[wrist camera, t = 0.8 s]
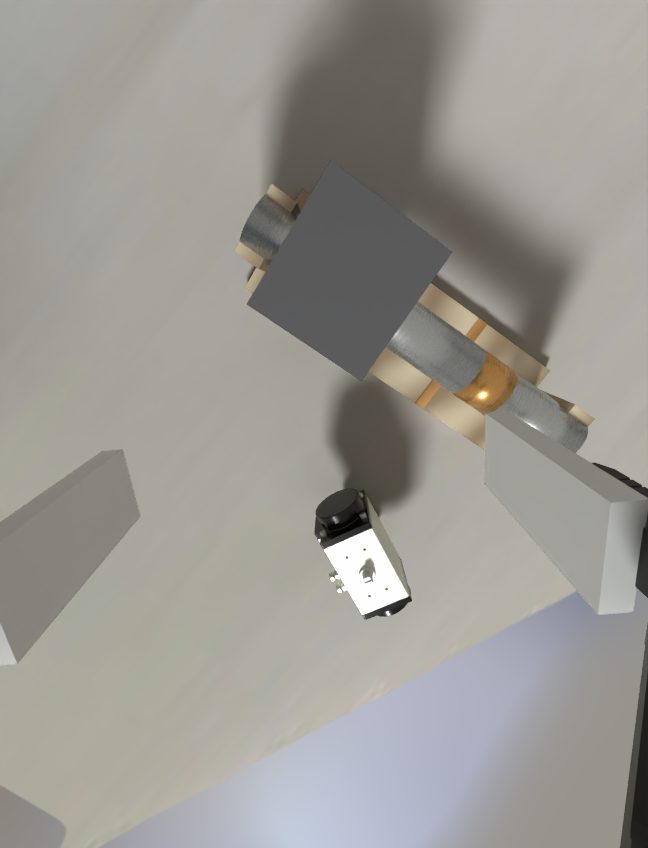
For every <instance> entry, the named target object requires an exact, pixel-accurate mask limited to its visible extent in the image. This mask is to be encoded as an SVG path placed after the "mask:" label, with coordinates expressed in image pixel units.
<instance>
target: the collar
mask: <svg viewBox="0 0 648 848" xmlns="http://www.w3.org/2000/svg"><path fill="white" fill-rule="evenodd" d="M451 253H452V251H450V250H449V249H448V248H446V247H445V246H444V245H442V244H441V243H440V242H439V241H437V240H436V239H435V238H433V237H432V236H431V235H429V234H428V233H427V232H425V231H424V230H423V229H421V228H420V227H419V226H417V225H416V224H415V223H413V222H412V221H411V220H409V219H408V218H407V217H405V216H404V215H403V214H401V213H400V212H399V211H398V210H396V209H395V208H394V207H392V206H391V205H390V204H388V203H387V202H386V201H384V200H383V199H382V198H380V197H379V196H378V195H376V194H375V193H374V192H372V191H371V190H370V189H368V188H367V187H366V186H364V185H363V184H362V183H360V182H359V181H358V180H357V179H355V178H354V177H353V176H351V175H350V174H349V173H347V172H346V171H345V170H343V169H342V168H341V167H339V166H338V165H337V164H335V163H334V162H333V161H330V162H329V164H328V166H327V168H326V169H325V171H324V173H323V174H322V176H321V178H320V179H319V181H318V183H317V185H316V186H315V188H314V190H313V191H312V193H311V195H310V197H309V198H308V200H307V202H306V203H305V205H304V207H303V209H302V210H301V212H300V214H299V215H298V217H297V219H296V221H295V222H294V224H293V226H292V227H291V229H290V231H289V233H288V234H287V236H286V238H285V239H284V241H283V243H282V245H281V246H280V248H279V250H278V251H277V253H276V255H275V257H274V258H273V260H272V262H271V263H270V265H269V267H268V269H267V270H266V272H265V274H264V275H263V277H262V279H261V280H260V282H259V284H258V286H257V287H256V289H255V291H254V292H253V294H252V296H251V298H250V299H249V301H248V303H247V305H249V306H250V307H252V308H253V309H255V310H256V311H258V312H259V313H261V314H262V315H264V316H265V317H267V318H268V319H270V320H271V321H273V322H274V323H275V324H277V325H278V326H280V327H281V328H283V329H284V330H286V331H287V332H289V333H290V334H292V335H293V336H295V337H296V338H298V339H299V340H301V341H302V342H304V343H305V344H307V345H308V346H310V347H311V348H313V349H314V350H316V351H317V352H319V353H320V354H322V355H323V356H325V357H326V358H328V359H329V360H331V361H332V362H334V363H335V364H337V365H338V366H340V367H341V368H343V369H344V370H346V371H347V372H349V373H350V374H352V375H353V376H355V377H356V378H358V379H359V380H361V381H362V380H363V379H364V377H365V376H366V375H367V373H368V372H369V370H370V369H371V367H372V366H373V365H374V363H375V362H376V360H377V359H378V357H379V356H380V355H381V353H382V352H383V350H384V349H385V347H386V346H387V345H388V343H389V342H390V340H391V339H392V337H393V336H394V335H395V333H396V332H397V330H398V329H399V328H400V326H401V325H402V323H403V322H404V320H405V319H406V318H407V316H408V315H409V313H410V312H411V310H412V309H413V308H414V306H415V305H416V303H417V302H418V300H419V299H420V298H421V296H422V295H423V293H424V292H425V290H426V289H427V288H428V286H429V285H430V283H431V282H432V280H433V279H434V278H435V276H436V275H437V273H438V272H439V270H440V269H441V268H442V266H443V265H444V263H445V262H446V261H447V259H448V258H449V256H450V255H451Z"/></svg>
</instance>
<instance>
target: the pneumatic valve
mask: <svg viewBox="0 0 648 848" xmlns="http://www.w3.org/2000/svg"><path fill="white" fill-rule="evenodd" d="M316 516H317V517H316V521H315V536H316V537H317V539H318V541H319V542H320V545H321V546H322V548H323V550H324V551H325V553H326V555H327V556H328V558H329V560H330V561H331V563H332V565H333V567H334V568H335V570H336V571H334V573H333V572H331V573H329V576H330V579H331V581H332V582H333V581H335V580H336V579H337V580H338V579H340V578H341V580H342V582H341V584H340V583H339V584H337V585H336V588H337V591H338V592H339V593H341V592H342V591H345V590H348V592H349V594H350V595H351V597H352V599H353V600H354V602H355V604H356V606H357V607H358V609H359V611H360V612H361V614H362V616H363V617H364V619H365V620H367V619H369V618H371V617H374V616H376V615H377V616H391V615H393V614H396V613H398V612H399V611H400V610H402V609H403V608H404V607H405V606H406V605H407V603H408V602H411V601H412V598H411V591H410V588H409V586H408V583H407V580H406V576H405V572H404V569H403V565H402V561H401V559H400V557H399V555H398V553H397V551H396V549H395V547H394V546H393V544H392V542H391V540H390V538H389V536H388V534H387V532H386V531H385V529H384V527H383V525H382V523H381V521H380V519H379V517H378V516H377V514H376V512H375V510H374V508H373V506H372V504H371V502H370V501H369V499H368V497H367V495H366V493H365V491H364V490H363V491H360V492H358V491H357V490H355V489H344V490H340V491H338V492H336V493H334V494H332V495H330V496H329V497H327V498H326V499H325V500H323V501H322V502H321V503H320V504H319V506H318V507H317V509H316Z"/></svg>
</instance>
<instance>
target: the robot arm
mask: <svg viewBox="0 0 648 848" xmlns="http://www.w3.org/2000/svg"><path fill="white" fill-rule="evenodd" d="M484 484H485V485H486V486H487V487H488V489H489V490H490V491H491V492H492V493H493V494H494V496H495V497H496V498H497V499H498V500H499V501H500V502H501V504H502V505H503V506H504V507H505V508H506V509H507V510H508V512H509V513H510V514H511V515H512V516H513V517H514V519H515V520H516V521H517V522H518V523H519V524H520V525H521V527H522V528H523V529H524V530H525V531H526V532H527V534H528V535H529V536H530V537H531V538H532V539H533V540H534V542H535V543H536V544H537V545H538V546H539V547H540V549H541V550H542V551H543V552H544V553H545V554H546V555H547V557H548V558H549V559H550V560H551V561H552V562H553V564H554V565H555V566H556V567H557V568H558V569H559V570H560V572H561V573H562V574H563V575H564V576H565V577H566V579H567V580H568V581H569V582H570V583H571V584H572V585H573V587H574V588H575V589H576V590H577V591H578V592H579V593H580V595H581V596H582V597H583V598H584V599H585V600H586V601H587V603H588V604H589V605H590V606H591V607H592V608H593V610H594V611H595V612H596V613H597V614H598V615H602V614H613V613H625V612H633V610H634V603H635V597H636V590H637V588H638V589H639V590H640V591H641V592H642V593H643V594H644V595H645V596H646V597H647V598H648V489H647V488H646V487H642V485H641V484H639V483H637V482H635V481H634V480H630V478H629V477H627V476H625V475H624V474H622V473H620V472H618V471H617V470H615V469H612V468H609V467H606V466H603V465H600V464H597V463H590V462H588V461H587V460H585V459H584V458H582V457H580V456H579V455H577V454H576V453H574V452H572V451H571V450H569V449H567V448H566V447H564V446H563V445H561V444H559V443H558V442H556V441H554V440H553V439H551V438H550V437H548V436H546V435H545V434H543V433H541V432H540V431H538V430H537V429H535V428H533V427H532V426H530V425H529V424H527V423H525V422H524V421H522V420H520V419H519V418H517V417H516V416H514V415H512V414H511V413H509V412H507V411H505V412H495V413H485V481H484ZM139 517H140V513H139V509H138V505H137V502H136V498H135V494H134V490H133V487H132V483H131V479H130V475H129V471H128V468H127V464H126V460H125V456H124V452H123V449H121V450H111V451H102V452H100V453H99V454H98V455H96V456H95V457H93V458H92V459H90V460H89V461H87V462H86V463H85V464H83V465H82V466H80V467H79V468H77V469H76V470H75V471H73V472H72V473H70V474H69V475H67V476H66V477H65V478H63V479H62V480H60V481H59V482H57V483H56V484H54V485H53V486H52V487H50V488H49V489H47V490H46V491H44V492H43V493H42V494H40V495H39V496H37V497H36V498H34V499H33V500H32V501H30V502H29V503H27V504H26V505H24V506H23V507H21V508H20V509H19V510H17V511H16V512H14V513H13V514H11V515H10V516H9V517H7V518H6V519H4V520H3V521H1V522H0V665H12V664H18V663H19V661H20V660H21V659H22V658H23V657H24V655H25V654H26V653H27V652H28V651H29V649H30V648H31V647H32V646H33V645H34V643H35V642H36V641H37V640H38V639H39V637H40V636H41V635H42V634H43V633H44V631H45V630H46V629H47V628H48V627H49V625H50V624H51V623H52V622H53V621H54V619H55V618H56V617H57V616H58V615H59V613H60V612H61V611H62V610H63V609H64V607H65V606H66V605H67V604H68V603H69V601H70V600H71V599H72V598H73V597H74V595H75V594H76V593H77V592H78V591H79V589H80V588H81V587H82V586H83V585H84V583H85V582H86V581H87V580H88V579H89V577H90V576H91V575H92V574H93V573H94V571H95V570H96V569H97V568H98V567H99V565H100V564H101V563H102V562H103V561H104V559H105V558H106V557H107V556H108V555H109V553H110V552H111V551H112V550H113V549H114V547H115V546H116V545H117V544H118V543H119V541H120V540H121V539H122V538H123V537H124V535H125V534H126V533H127V532H128V531H129V529H130V528H131V527H132V526H133V525H134V523H135V522H136V521H137V520H138V519H139ZM620 848H648V625H647V631H646V638H645V652H644V660H643V668H642V676H641V684H640V692H639V700H638V708H637V716H636V724H635V732H634V740H633V748H632V756H631V764H630V772H629V780H628V788H627V797H626V804H625V813H624V820H623V828H622V836H621V844H620Z"/></svg>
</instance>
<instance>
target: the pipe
mask: <svg viewBox="0 0 648 848" xmlns="http://www.w3.org/2000/svg"><path fill="white" fill-rule="evenodd" d="M297 217H298V214H296V213H295V212H292V213H290V212H289V211H288V210H286V209H285V208H284V207H282V206H281V205H279V204H278V203H277V202H275V201H274V200H272V199H271V198H270V197H268V196H267V195H264V196H263V197H262V198H261V199H260V201H259V202H258V203H257V205H256V206H255V207H254V209H253V211H252V212H251V214H250V216H249V218H248V219H247V222H246V224H245V226H244V228H243V231H242V234H241V237H240V242H241V243H242V244H243V245H245V246H246V247H248V248H249V249H251V250H252V251H254V252H255V253H256V254H258V255H259V256H261V257H262V258H264V264H266V265H267V266H269V265H270V263H271V262H272V260H273V258H274V257H275V255H276V253H277V251H278V250H279V248H280V246H281V245H282V243H283V241H284V239H285V238H286V236H287V234H288V233H289V231H290V229H291V227H292V226H293V224H294V222H295V221H296V219H297ZM386 348H387V349H389V350H390V351H391V352H393V353H394V354H396V355H397V356H399V357H400V358H402V359H403V360H404V361H406V362H407V363H409V364H410V365H412V366H413V367H415V368H416V369H417V370H419V371H420V372H422V373H423V374H425V375H426V376H428V377H429V378H430V379H432V380H433V381H435V382H436V383H438V384H439V385H441V386H442V387H443V388H445V389H446V390H448V391H449V392H451V393H452V394H454V395H455V396H456V397H458V398H459V399H461V400H462V401H464V402H465V403H467V404H468V405H469V406H471V407H472V408H474V409H475V410H477V411H478V412H480V413H481V414H482V415H484V416H485V413H495V412H505V411H507V412H509V413H511V414H512V415H514V416H516V417H517V418H519V419H520V420H522V421H524V422H525V423H527V424H529V425H530V426H532V427H533V428H535V429H537V430H538V431H540V432H541V433H543V434H545V435H546V436H548V437H550V438H551V439H553V440H554V441H556V442H558V443H559V444H561V445H563V446H564V447H566V448H567V449H569V450H571V451H572V452H574V453H576V452H577V451H578V450H579V449H580V447H581V446H582V445H583V443H584V442H585V440H586V438H587V434H588V427H587V426H586V425H584V424H583V423H582V422H580V421H579V420H577V419H576V418H575V417H573V416H572V415H571V414H569V413H568V411H567V409H566V408H565V407H563V406H562V405H561V404H559V403H558V402H557V401H555V400H554V399H552V398H551V397H550V396H548V395H547V394H545V393H544V392H543V391H541V390H540V389H539V388H537V387H536V386H534V385H533V384H532V383H530V382H529V381H527V380H526V379H525V378H523V377H522V376H521V375H519V374H518V373H516V372H515V371H514V370H512V369H511V368H509V367H508V366H507V365H505V364H504V363H503V362H501V361H500V360H498V359H497V358H496V357H494V356H493V355H492V354H490V353H489V352H487V351H486V350H485V349H483V348H482V347H480V346H479V345H478V344H476V343H475V342H474V341H472V340H471V339H469V338H468V337H467V336H465V335H464V334H462V333H461V332H460V331H458V330H457V329H456V328H454V327H453V326H451V325H450V324H449V323H447V322H446V321H444V320H443V319H442V318H440V317H439V316H438V315H436V314H435V313H433V312H432V311H431V310H429V309H428V308H426V307H425V306H424V305H422V304H421V303H420V302H417V303H416V305H415V306H414V308H413V309H412V310H411V312H410V313H409V315H408V316H407V318H406V319H405V320H404V322H403V323H402V325H401V326H400V328H399V329H398V330H397V332H396V333H395V335H394V336H393V337H392V339H391V340H390V342H389V343H388V345H387V346H386Z"/></svg>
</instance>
